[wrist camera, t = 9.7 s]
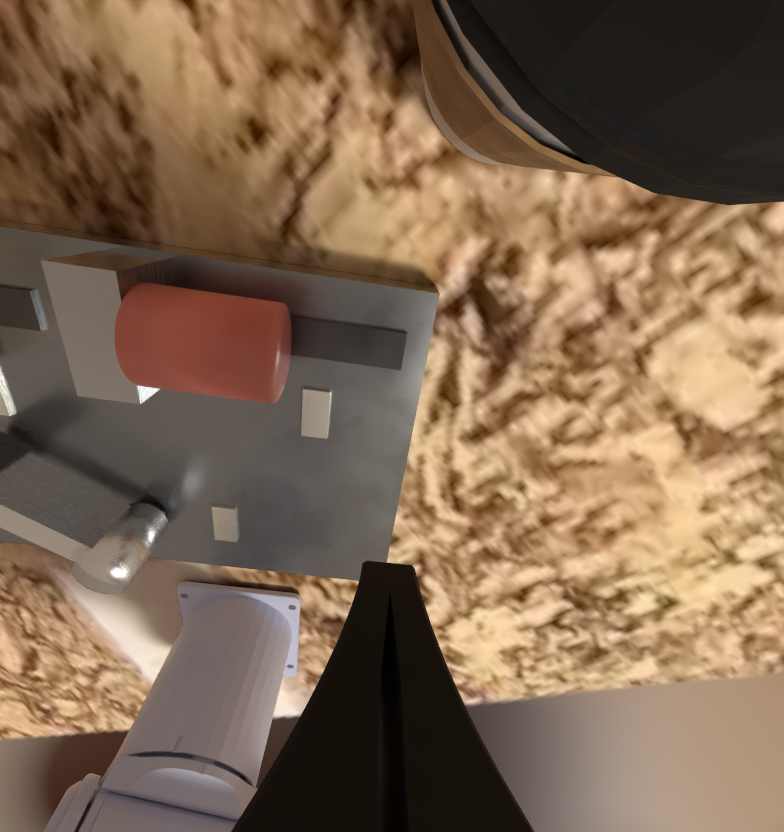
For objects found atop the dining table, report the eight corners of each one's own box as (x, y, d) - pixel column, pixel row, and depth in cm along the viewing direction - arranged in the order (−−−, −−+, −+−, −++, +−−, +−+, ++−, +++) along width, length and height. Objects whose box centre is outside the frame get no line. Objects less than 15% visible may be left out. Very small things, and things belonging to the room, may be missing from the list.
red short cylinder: (290, 379, 16) (264, 422, 13) (179, 364, 16) (126, 403, 13) (292, 293, 15) (263, 317, 12) (168, 274, 14) (103, 294, 11)
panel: (383, 562, 25) (379, 635, 20) (16, 521, 23) (-66, 589, 19) (436, 286, 16) (448, 314, 12) (-122, 200, 15) (-314, 200, 11)
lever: (176, 518, 20) (137, 575, 17) (156, 543, 21) (115, 601, 18) (-5, 420, 18) (-90, 466, 15) (-19, 453, 19) (-102, 503, 15)
